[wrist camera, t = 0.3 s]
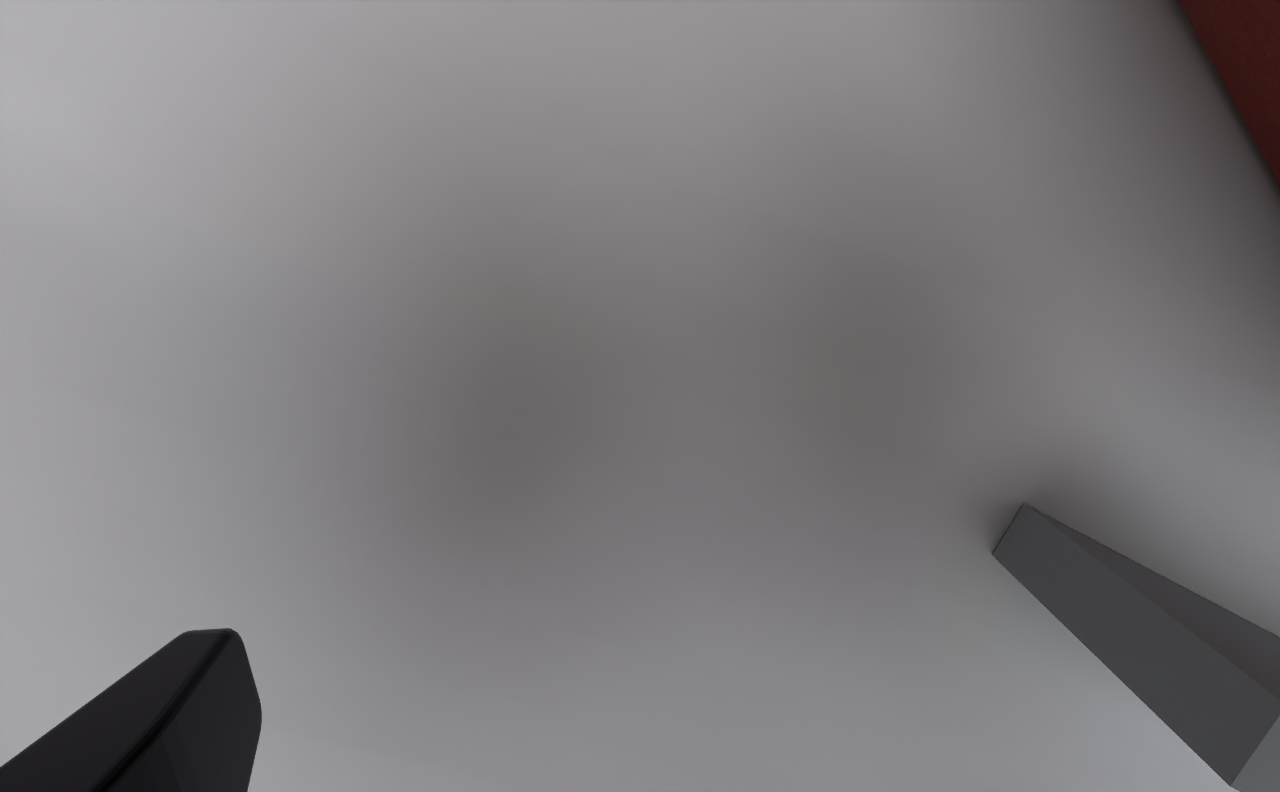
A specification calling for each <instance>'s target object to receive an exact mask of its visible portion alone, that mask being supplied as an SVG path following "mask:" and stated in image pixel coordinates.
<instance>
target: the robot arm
mask: <svg viewBox="0 0 1280 792" xmlns="http://www.w3.org/2000/svg"><path fill="white" fill-rule="evenodd" d="M261 722H262V711H261V703H260V699H259V695H258V692H257V688H256V685H255V681H254V678H253V674H252V671H251V667H250V664H249V660H248V657H247V653H246V650H245V646H244V643H243V641H242V639H241V637H240V635H239V634H238V633H237V632H236V631H234V630H232V629H229V628H224V629H207V630H193V631H187V632H184V633H182V634H181V635H179V636H178V637H176V638H175V639H173V640H172V641H171V642H169V643H168V644H167V645H165V646H164V647H163V648H161V649H160V650H159V651H157V652H156V653H154V654H153V655H152V656H150V657H149V658H148V659H146V660H145V661H144V662H142V663H141V664H140V665H138V666H137V667H136V668H134V669H133V670H131V671H130V672H129V673H127V674H126V675H125V676H123V677H122V678H121V679H119V680H118V681H117V682H115V683H114V684H112V685H111V686H110V687H108V688H107V689H106V690H104V691H103V692H102V693H100V694H99V695H98V696H96V697H95V698H94V699H92V700H91V701H89V702H88V703H87V704H85V705H84V706H83V707H81V708H80V709H79V710H77V711H76V712H75V713H73V714H72V715H70V716H69V717H68V718H66V719H65V720H64V721H62V722H61V723H60V724H58V725H57V726H56V727H54V728H53V729H52V730H50V731H49V732H47V733H46V734H45V735H43V736H42V737H41V738H39V739H38V740H37V741H35V742H34V743H33V744H31V745H30V746H28V747H27V748H26V749H24V750H23V751H22V752H20V753H19V754H18V755H16V756H15V757H14V758H12V759H11V760H10V761H8V762H7V763H5V764H4V765H3V766H1V767H0V792H247V791H248V786H249V782H250V777H251V772H252V768H253V763H254V759H255V754H256V750H257V745H258V741H259V736H260V731H261Z"/></svg>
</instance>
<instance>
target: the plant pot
mask: <svg viewBox="0 0 1280 792" xmlns="http://www.w3.org/2000/svg"><path fill="white" fill-rule="evenodd" d="M1179 1H1180V3H1181V5H1182V7H1183V9H1184V10H1185V12H1186V14H1187V16H1188V18H1189V20H1190V22H1191V24H1192V26H1193V27H1194V29H1195V31H1196V33H1197V35H1198V37H1199V39H1200V41H1201V43H1202V44H1203V46H1204V48H1205V50H1206V52H1207V54H1208V55H1209V57H1210V59H1211V61H1212V63H1213V64H1214V66H1215V68H1216V70H1217V72H1218V74H1219V75H1220V77H1221V79H1222V81H1223V83H1224V85H1225V86H1226V88H1227V90H1228V92H1229V94H1230V95H1231V97H1232V99H1233V101H1234V103H1235V105H1236V106H1237V108H1238V110H1239V112H1240V114H1241V115H1242V117H1243V119H1244V121H1245V123H1246V125H1247V126H1248V128H1249V130H1250V132H1251V134H1252V136H1253V137H1254V139H1255V141H1256V143H1257V145H1258V146H1259V148H1260V150H1261V152H1262V154H1263V156H1264V158H1265V159H1266V161H1267V163H1268V165H1269V167H1270V169H1271V171H1272V172H1273V174H1274V176H1275V178H1276V180H1277V182H1278V184H1279V185H1280V0H1179Z"/></svg>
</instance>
